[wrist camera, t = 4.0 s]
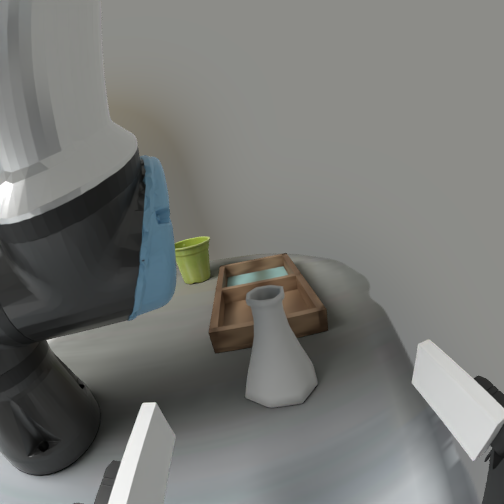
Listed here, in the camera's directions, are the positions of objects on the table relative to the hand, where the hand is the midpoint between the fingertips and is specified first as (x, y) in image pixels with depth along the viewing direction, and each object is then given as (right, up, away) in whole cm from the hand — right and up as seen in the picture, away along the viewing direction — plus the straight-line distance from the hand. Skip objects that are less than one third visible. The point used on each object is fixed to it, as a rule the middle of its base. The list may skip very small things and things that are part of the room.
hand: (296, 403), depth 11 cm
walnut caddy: (0, -1, +33) cm, 33 cm away
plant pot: (-14, +1, +50) cm, 52 cm away
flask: (+1, -6, +13) cm, 14 cm away
